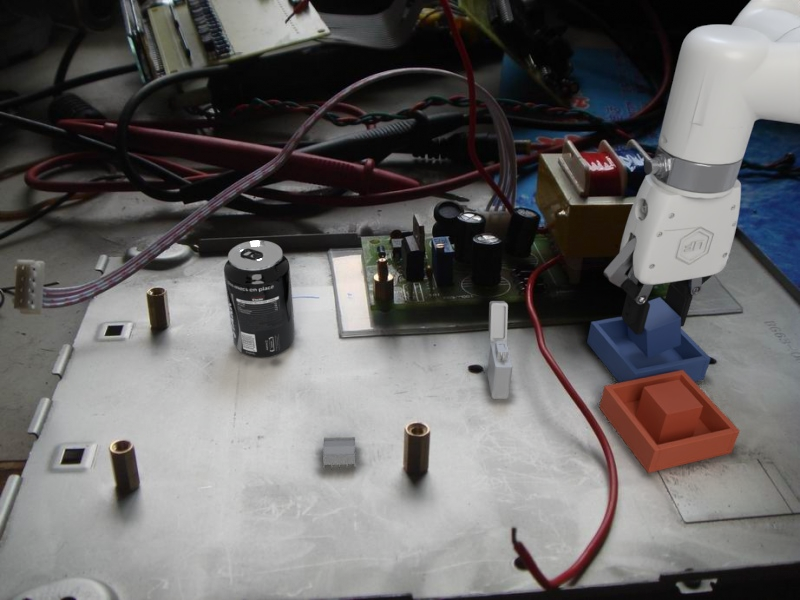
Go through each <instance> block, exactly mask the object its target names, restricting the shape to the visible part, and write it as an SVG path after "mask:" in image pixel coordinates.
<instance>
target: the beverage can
mask: <svg viewBox="0 0 800 600" xmlns="http://www.w3.org/2000/svg"><path fill="white" fill-rule="evenodd" d="M227 258H228V259H227V261H226V262H225V263H224V266H223V275H224V277H223V278H224V283H225V291H226V297H227V298H226V299H227V304H228V312H229V321H230V326H231V333H232V339H233V345H234V347H235V348H236V350H238V351H239V352H240V353H241V354H243V355H244V356H247V357H250V358H254V359H255V358H256V359H269V358H274V357H276V356H279V355H282V354H283V353H285V352H286V351H287V350H289V349H290V348H291V347H292V345H293V344H294V342H295V339H296V331H295V330H296V329H295V328H296V327H295V315H294V301H293V288H292V276H291V268H290V266H291V265H290V262H289V260H288V258H287V256H285V255H284V254H283V249H282V248H281V247H280V245H278V244H276V243H275V242H272V241H268V240H250V241H244V242H242V243H238V244H237V245H235V246H234V247H232V248H231V249H230V250H229V252H228V255H227Z"/></svg>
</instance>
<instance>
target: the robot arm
mask: <svg viewBox="0 0 800 600" xmlns="http://www.w3.org/2000/svg"><path fill="white" fill-rule="evenodd" d="M672 80H673V81H672V84H671V88H670V92H669V96H668V99H667V104H666V109H665V113H664V116H663V120H662V124H661V129H660V132H659V138H658V142H657V145H656V148H655V149H656V150H655V154H654V157H653V158H652V159H647V160H645V162H644V164H643V165H644V166H643V169H644V170H643V171H644V172H645V174H646V175H645V177H644V179H643V181H642V183H641V185H640V186H639V188H638V191H637V194H636V196H635V198H634V201H633V204H632V206H631V209H630V211H629V214H628V217H627V221H626V224H625V228H624V230H623V234H622V238H621V242H620V248H619V252H618V254H617V255H616V256H615V257H614V259H613V260H612V261H611V262H610V263H609V264H608V265H607V267H605V269H604V270H603V272H602V273H603V276H604V277H605V278H606V279H607V280H608V281H609V282H610V283H611V284H613V285H615V286H617V287H618V288H620V289H622V290H624V292H625V293H626V296H625V300H624V304H623V308H622V311H621V317H622V319H623V321H624V322H625V323H626V324H627V325H628V327H629V328H630V329H631V330H632V331H633V332H634V333H635V334H636V335H638V334H642V332H643V331H644V327H645V323H646V320H647V316H648V312H649V309H650V304H649V302H648V301H649V300H648V298H649V296H650V294H651V293H652V290H653V288H654V286H655V285H661V284H668V283H669V284H668V288H667V291H666V295H665V298H664V300H663V301H664V302H665V303H666V304H668V305H669V306H670V307H671V308H672V309H673V310H674V311H675V312H676V313H677V314H678V315H679V316H680V317H681V328H682V327H684V326H685V325H686V321H687V318H688V313H689V310H690V307H691V304H692V301H693V297H694V296H696V295H698V294H699V293H700V292H701V291H702V285H703V284H705V283H706V282H707V281H709V279H710V278H711V277H713V276H714V275H716V274H718V273H720V272H721V271H723V270H724V269H725V267H726V266H727V264H729V262H731V256H730V254H731V249H732V246H733V242H734V238H735V234H736V229H737V226H738V221H739V215H740V210H741V209H740V208H741V197H742V184H741V182H740V180H739V179H738V176H739V172H740V169H741V166H742V163H743V161H744V160H743V159H744V156H745V153H746V150H747V147H748V144H749V142H750V137H751V134H752V131H753V128H754V124H755V122H756V121H758V120H768V121H775V122H782V123H790V124H797V125H800V0H749V2H748V3H747V4H746V5H745V6H744V8H743V9H742V10H741V11H740V12H739V13H738V15H737V16H736V17H735V19H734V21H733V22H732V23H731V24H707V25H701V26H697V27H696V28H694V29H692V30H691V31H690V32H689V33H687V35H686V36H685V38H684V39H683V42H682V44H681V47H680V51H679V54H678V59H677V63H676V66H675V72H674V74H673V79H672ZM628 270H629V272H628V273H627V271H628ZM626 273H627V274H626ZM638 283H640V284H639V286H638Z"/></svg>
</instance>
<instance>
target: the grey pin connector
mask: <svg viewBox="0 0 800 600" xmlns="http://www.w3.org/2000/svg"><path fill="white" fill-rule="evenodd" d="M322 449H323V450H322V451H323V452H322V456H323V457H322V459H323V460H322V461H323V469H325V468H326V466H330V468H331V470H333V467H334V466H337V465H338V468H341V465H345V466H346V467H349V465H353V469H354V470H356V466H357V465H356V458H357V457H356V455H357V453H356V452H357V448H356V437H354V436H353V437H352V436H351V437H349V436H347V437H346V436H345V437H323V448H322ZM333 465H334V466H333Z"/></svg>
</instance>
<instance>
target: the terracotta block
mask: <svg viewBox="0 0 800 600" xmlns="http://www.w3.org/2000/svg"><path fill="white" fill-rule="evenodd" d="M702 408H703V406H702V404H701V403H700V402H699V401H698V400H697V399H696V398H695V397H694V396H693V395H692V393H691V392H690V391H689V390H688V389H687V388H686V387H685V386H684V385H683V384H682V382H681V381H680V380H675V381H670V382H665V383H660V384H655V385H650V386H645V387H644V388H643V392H642V395H641V399H640V402H639V406H638V410H637V413H636V417H637V419H638V420H639V421H640V423H641V424H642V425H643V426H644V428H645V429H646V430H647V431H648V433H649V434H650V435H651V436H652V438H653V439H654V440H655V442H656V443H657V444H661V443H665V442H669V441H674V440H678V439H682V438H687V437H691V436H693V434H694V432H695V429H696V426H697V423H698V420H699V417H700V414H701V411H702Z"/></svg>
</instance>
